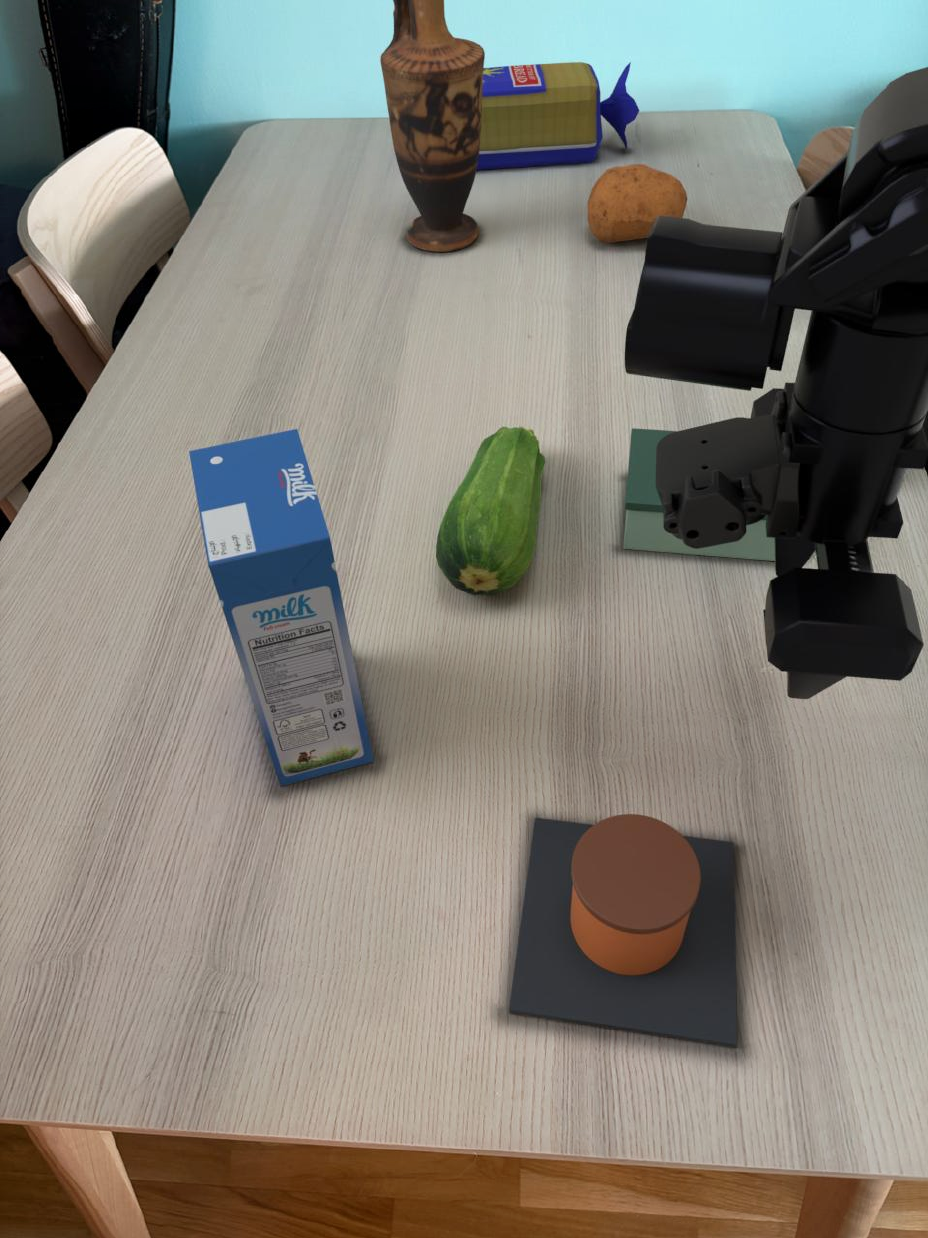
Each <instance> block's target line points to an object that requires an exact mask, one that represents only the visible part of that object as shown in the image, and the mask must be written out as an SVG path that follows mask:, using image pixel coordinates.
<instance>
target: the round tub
mask: <svg viewBox="0 0 928 1238" xmlns="http://www.w3.org/2000/svg"><path fill="white" fill-rule="evenodd" d="M592 825H593V826H592V827H591V828H589V829H588V830H587V831H586V832H585V833H584V834H583V836H582V837H581V838H580V840H579V841H578V843H577V845H576V847H575V850H574V853H573V858H572V868H571V875H572V882H573V889H572V902H571V917H570V920H571V927H572V931H573V935H574V937H575V940H576V941H577V943H578V945H579V947H580V948H581V949H582V951H583V952H584V953H585V954H586V955H587V956H588V958H590V959H591V960H592V961H593V962H594V963H596V964H597V965H599V966H600V967H602V968H604V969H606V970H608V971H611V972H614V973H618V974H623V975H642V974H647V973H650V972H653V971H656V970H658V969H660V968H661V967H663V966H664V965H666V964H667V963H668V962H669V961H670V960H671V959H672V958H673V957H674V956H675V954H676V953H677V951H678V950H679V948H680V945H681V943H682V940H683V936H684V932H685V929H686V925H687V922H688V918H689V914H690V911H691V909H692V908H693V906H694V904H695V902H696V899H697V897H698V893H699V889H700V883H701V873H700V867H699V862H698V860H697V857H696V854H695V853H694V851H693V849H692V847H691V846H690V844H689V843H688V841H687V840H686V839H685V838H684V837H683V836H684V835H682V833H680V832H679V831H678V830H676V829H675V828H674V827H673V826H672V825H669V824H668V823H666V822H664V821H662V820H660V819H658V818H654V817H652V816H649V815H643V814H636V813H625V814H617V815H613V816H609V817H606V818H604V819H601V820H600V821H597V822H596V823H594V824H592Z"/></svg>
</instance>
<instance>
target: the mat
mask: <svg viewBox="0 0 928 1238" xmlns="http://www.w3.org/2000/svg"><path fill="white" fill-rule="evenodd" d="M593 825H594V824H590V823H582V822H574V821H565V820H557V819H549V818H543V817H542V818H540V817H535V818H534V823H533V829H532V838H531V845H530V852H529V859H528V866H527V875H526V881H525V888H524V897H523V903H522V911H521V917H520V926H519V933H518V940H517V948H516V954H515V964H514V970H513V976H512V984H511V991H510V999H509V1007H508V1012H509V1013H508V1014H513V1015H518V1016H519V1015H520V1016H527V1017H533V1018H540V1019H546V1020H553V1021H559V1022H565V1023H571V1024H577V1025H585V1026H586V1025H587V1026H591V1027H599V1028H603V1029H604V1028H605V1029H611V1030H618V1031H623V1032H631V1033H638V1034H642V1035H643V1034H644V1035H651V1036H656V1037H663V1038H670V1039H678V1040H683V1041H688V1042H689V1041H691V1042H696V1043H702V1044H708V1045H717V1046H723V1047H728V1048H737V1047H738V1045H739V1042H738V1041H739V1039H738V1037H739V1036H738V993H737V992H738V991H737V990H738V989H737V985H738V984H737V944H736V943H737V942H736V941H737V940H736V897H735V896H736V895H735V891H736V890H735V849H734V848H735V847H734V845H735V844H734V842H733V841H730V840H729V841H728V840H721V839H713V838H712V839H711V838H705V837H704V838H703V837H697V836H696V837H695V836H687V835H682V836H683V837H684V838H685V839H686V840H687V841H688V843H689V844H690V846H691V847H692V849H693V851H694V853H695V854H696V857H697V860H698V862H699V867H700V873H701V883H700V889H699V893H698V897H697V899H696V902H695V904H694V906H693V908H692V909H691V911H690V914H689V918H688V922H687V925H686V929H685V932H684V936H683V940H682V943H681V945H680V948H679V950H678V951H677V953H676V954H675V956H674V957H673V958H672V959H671V960H670V961H669V962H668V963H667V964H666V965H664V966H663V967H661V968H660V969H658V970H656V971H653V972H650V973H647V974H642V975H623V974H618V973H614V972H611V971H608V970H606V969H604V968H602V967H600V966H599V965H597V964H596V963H594V962H593V961H592V960H591V959H590V958H588V956H587V955H586V954H585V953H584V952H583V951H582V949H581V948H580V947H579V945H578V943H577V941H576V940H575V937H574V935H573V931H572V927H571V920H570V917H571V902H572V889H573V882H572V875H571V868H572V858H573V853H574V850H575V847H576V845H577V843H578V841H579V840H580V838H581V837H582V836H583V834H584V833H585V832H586V831H587V830H588V829H589V828H591V827H592V826H593Z"/></svg>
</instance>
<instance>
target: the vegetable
mask: <svg viewBox="0 0 928 1238" xmlns="http://www.w3.org/2000/svg"><path fill="white" fill-rule="evenodd" d="M546 463H547V462H546V457H545V456H544V455H543V454H542V453H541V449H540V443H539V439H538V438H537V435H535V432H534V430H533V428H532V429H531V428H529V429H526V428H525V427H523V426H519V427H517V426H516V427H511V428H509V427H508V426H502V427H499V428H498V429H497V431H496V432H494V433H492V434H491V435H489V436H487V437H485V438H484V439H483V441H482V442H481V443H480V446H479V447H478V450H477V451H476V454H475V456H474V458H473V460H472V462H471V464H470V466H469V469H468V471H467V472H466V475H465V476H464V478H463V480H462V482H461V483H460V485H459V486H458V487H457V489H456V490H455V493H454V494H453V496H452V497H451V500H450V501H449V503H448V506H447V508H446V510H445V512H444V514H443V517H442V519H441V522H440V525H439V529H438V532H437V537H436V543H435V544H436V545H435V559H436V562H437V565H438V567H439V570H440V571H441V572H442V574H443V575H444V577H445V578H446V579H447V581H448V582H449V583H450V584H451V586H453V588H455V589H456V590H459V591H461V592H464V593H467V594H470V595H472V596H487V597H490V596H494V595H497V594H499V593H502V592H503V591H506V590H509V589H511V588H512V587H514V586H516V584H517V583H518V582H519V581H520V579H522V577H523V575H524V574H525V572H527V571H528V568H529V566H530V564H531V563H532V561H533V558H534V555H535V551H536V545H537V534H538V522H539V515H540V509H541V500H542V477H543V472H544V469H545V466H546Z"/></svg>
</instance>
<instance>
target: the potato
mask: <svg viewBox="0 0 928 1238" xmlns="http://www.w3.org/2000/svg"><path fill="white" fill-rule="evenodd" d="M590 190H591V191H590V192H589V197H588V200H587V202H586V203H587V205H586V207H587V223H588V228H589V230H590V232H591V234H592V235H593V236H594V237H595V238H596V239H598V241H599V242H602V243H603V242H604V243H617V242H625V241H632V240H641V239H647V237H648V235H649V233H650V230H651V228H652V226H653V224H654V221H655V219H657V218H658V217H659V216H670V217H680V218H684V214H685V212H686V207H687V203H688V195H687V190H686V189H685V187H684V184H682V182H681V180H679V179H678V178H677V177H676V176H674V175H672V174H670V173H667V172H665V171H662V170H659V169H656V168H653V167H650V166H648V165H646V164H643V163H642V164H641V163H640V164H639V163H633V164H629V165H628V164H627V165H623V166H622V165H621V166H613V167H610V168H607V170H605V171H604V172H603V173H602V174H601V175H600V177H598V178H597V180H596V181H595V183H594V185H593V186H592V188H591V189H590Z"/></svg>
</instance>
